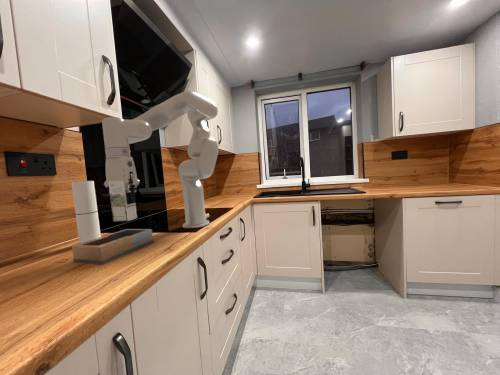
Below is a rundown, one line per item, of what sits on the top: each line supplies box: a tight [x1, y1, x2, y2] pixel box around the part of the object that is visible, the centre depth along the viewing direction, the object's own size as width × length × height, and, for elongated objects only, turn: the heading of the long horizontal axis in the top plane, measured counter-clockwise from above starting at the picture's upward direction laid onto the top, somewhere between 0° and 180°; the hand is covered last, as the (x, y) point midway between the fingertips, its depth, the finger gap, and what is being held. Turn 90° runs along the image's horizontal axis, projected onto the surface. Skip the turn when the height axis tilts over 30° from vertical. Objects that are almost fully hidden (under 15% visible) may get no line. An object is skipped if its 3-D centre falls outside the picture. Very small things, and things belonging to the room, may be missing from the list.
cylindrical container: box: [71, 180, 102, 244], centre depth 89 cm, size 7×7×25 cm
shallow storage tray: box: [71, 228, 154, 265], centre depth 76 cm, size 20×13×5 cm, turn 161°
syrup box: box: [108, 181, 138, 222], centre depth 80 cm, size 6×6×14 cm
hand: (123, 203), depth 80 cm, fingers closed on syrup box, 6 cm apart
